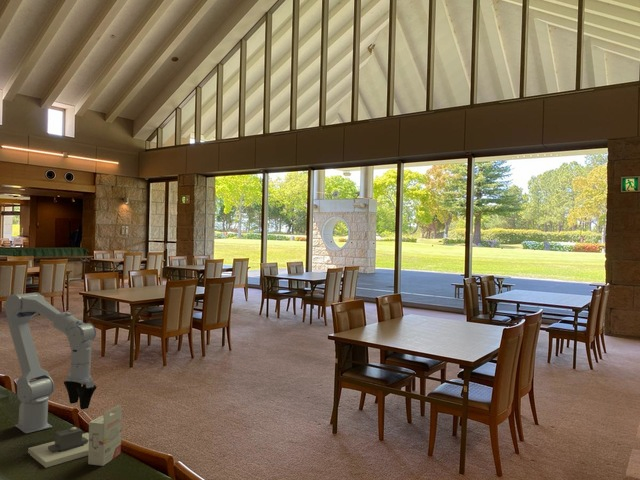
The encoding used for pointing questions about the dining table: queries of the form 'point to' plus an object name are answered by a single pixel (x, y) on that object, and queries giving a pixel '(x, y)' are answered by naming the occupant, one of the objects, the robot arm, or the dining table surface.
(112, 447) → the ink cartridge box
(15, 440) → the dining table surface
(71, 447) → the servo block
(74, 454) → the pocket plate
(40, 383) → the robot arm
